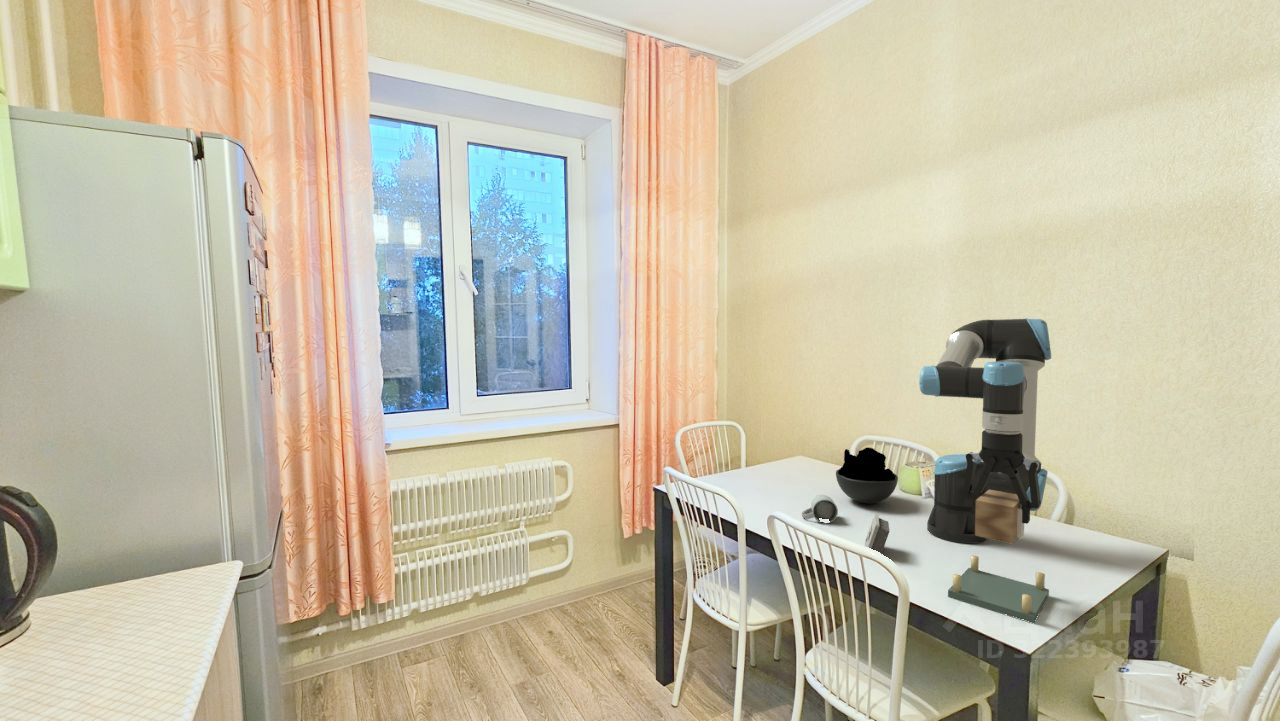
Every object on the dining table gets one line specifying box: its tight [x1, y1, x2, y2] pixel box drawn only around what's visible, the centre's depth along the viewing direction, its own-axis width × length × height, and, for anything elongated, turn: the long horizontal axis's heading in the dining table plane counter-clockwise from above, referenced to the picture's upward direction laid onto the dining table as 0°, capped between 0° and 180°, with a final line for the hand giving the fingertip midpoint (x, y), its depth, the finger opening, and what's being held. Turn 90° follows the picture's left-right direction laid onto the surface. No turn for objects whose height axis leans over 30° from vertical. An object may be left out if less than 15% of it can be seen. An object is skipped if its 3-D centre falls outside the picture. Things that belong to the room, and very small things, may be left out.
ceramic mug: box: [801, 494, 839, 523], centre depth 172 cm, size 11×8×8 cm
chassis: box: [947, 554, 1050, 624], centre depth 121 cm, size 16×16×5 cm
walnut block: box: [975, 490, 1021, 545], centre depth 120 cm, size 7×11×8 cm, turn 134°
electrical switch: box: [864, 513, 891, 554], centre depth 146 cm, size 9×5×9 cm, turn 158°
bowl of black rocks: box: [835, 447, 899, 505], centre depth 186 cm, size 20×20×19 cm
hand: (999, 531), depth 120 cm, fingers closed on walnut block, 7 cm apart
